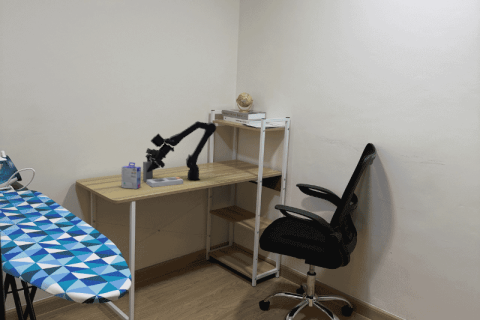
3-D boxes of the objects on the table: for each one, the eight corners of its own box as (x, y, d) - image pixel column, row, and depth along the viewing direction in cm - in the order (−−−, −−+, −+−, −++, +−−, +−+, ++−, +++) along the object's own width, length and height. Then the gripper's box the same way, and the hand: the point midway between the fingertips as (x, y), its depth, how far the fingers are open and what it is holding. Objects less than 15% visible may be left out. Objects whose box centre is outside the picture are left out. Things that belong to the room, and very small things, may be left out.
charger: (149, 180, 259) (150, 160, 257) (152, 181, 255) (152, 162, 253) (143, 180, 257) (143, 161, 254) (145, 182, 253) (145, 162, 251)
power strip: (176, 180, 261) (176, 175, 260) (183, 183, 254) (183, 178, 253) (146, 183, 250) (146, 178, 249) (152, 187, 243) (152, 182, 242)
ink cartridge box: (141, 187, 242) (141, 162, 239) (137, 189, 237) (137, 164, 234) (125, 185, 244) (125, 161, 241) (121, 187, 238) (120, 163, 236)
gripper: (148, 141, 261) (131, 159, 257) (160, 146, 246) (142, 165, 242) (160, 152, 267) (143, 171, 263) (172, 158, 252) (154, 177, 248)
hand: (145, 170), depth 254 cm, fingers open, 5 cm apart
